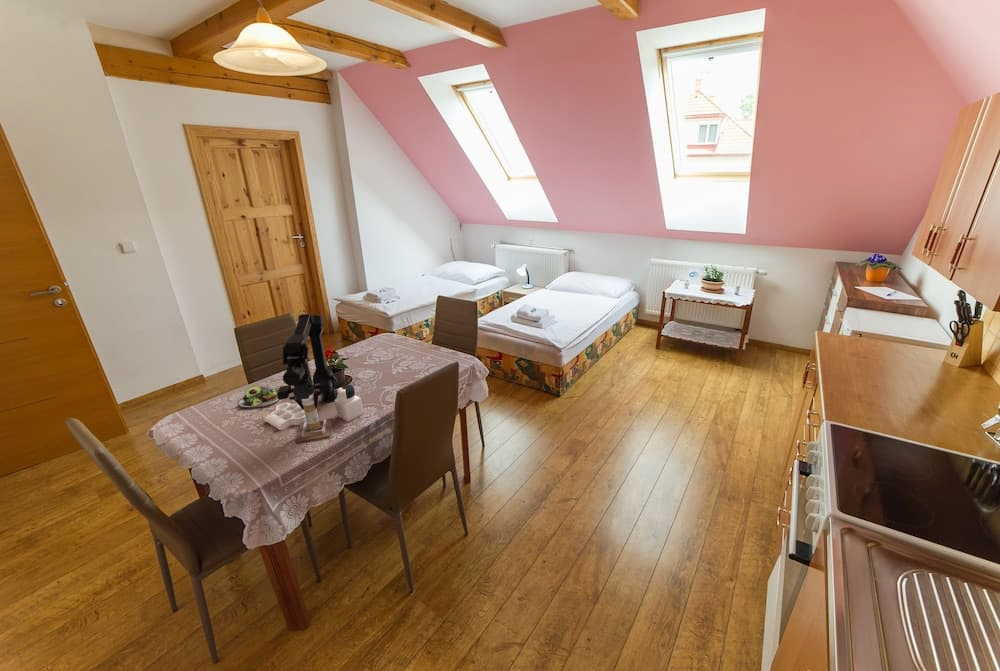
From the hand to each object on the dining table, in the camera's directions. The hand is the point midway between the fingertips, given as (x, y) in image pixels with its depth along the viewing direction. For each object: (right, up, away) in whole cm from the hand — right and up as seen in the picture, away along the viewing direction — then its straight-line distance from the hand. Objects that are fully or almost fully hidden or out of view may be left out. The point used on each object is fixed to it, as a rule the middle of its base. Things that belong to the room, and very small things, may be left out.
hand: (309, 408), depth 163 cm
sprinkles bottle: (0, -9, +4) cm, 9 cm away
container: (+11, -5, +14) cm, 19 cm away
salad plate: (-35, -1, +29) cm, 45 cm away
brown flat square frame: (0, -10, +4) cm, 10 cm away
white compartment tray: (-15, -7, +13) cm, 21 cm away
